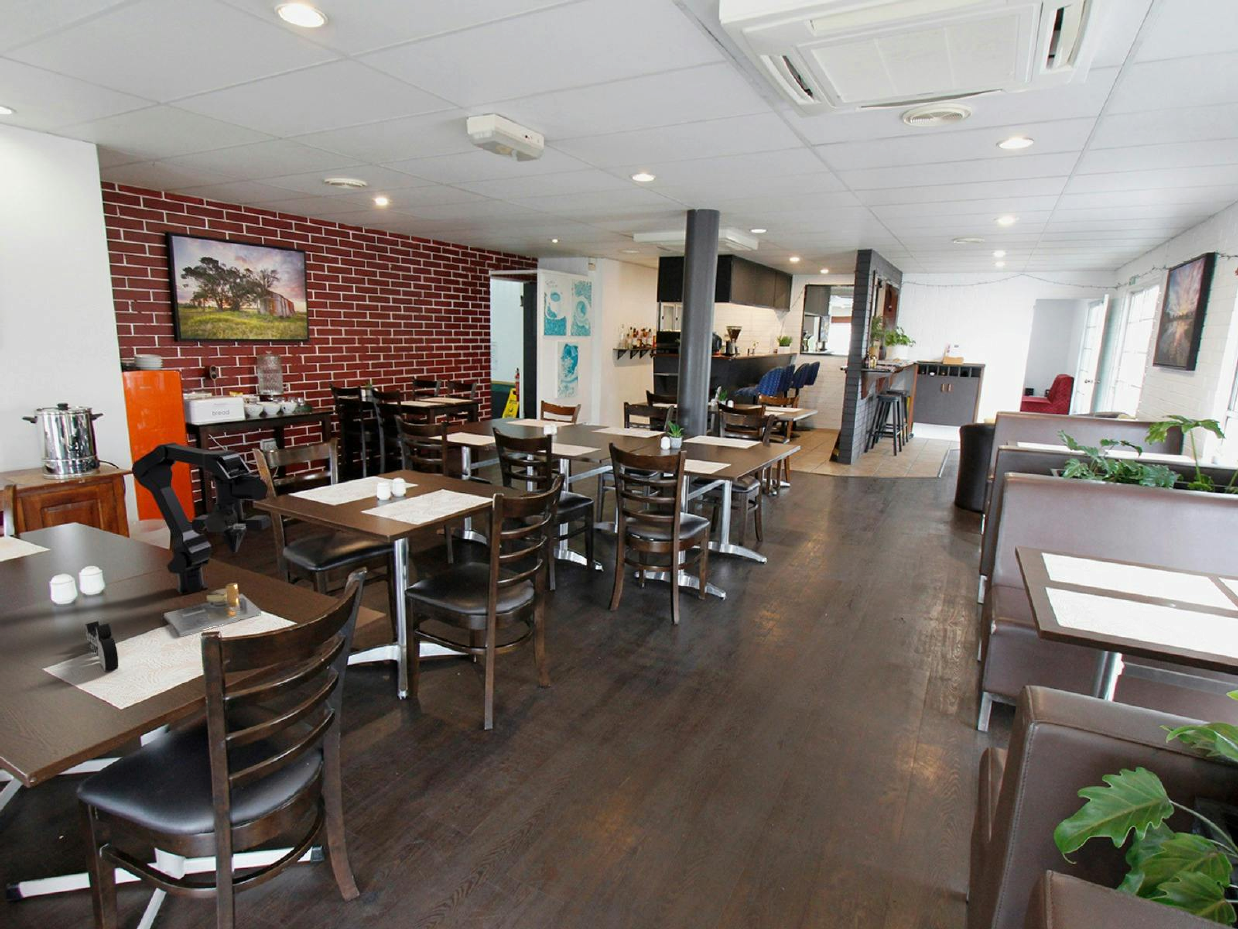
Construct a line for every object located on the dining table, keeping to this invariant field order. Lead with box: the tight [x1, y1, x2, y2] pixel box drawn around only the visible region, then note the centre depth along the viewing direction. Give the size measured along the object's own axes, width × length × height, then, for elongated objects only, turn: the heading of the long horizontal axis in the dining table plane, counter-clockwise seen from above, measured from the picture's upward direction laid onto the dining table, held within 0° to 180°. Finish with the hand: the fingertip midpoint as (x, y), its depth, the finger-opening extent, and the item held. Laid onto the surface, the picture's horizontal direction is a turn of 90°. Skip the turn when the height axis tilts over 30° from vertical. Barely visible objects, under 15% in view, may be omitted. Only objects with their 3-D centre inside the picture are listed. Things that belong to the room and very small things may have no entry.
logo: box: [85, 620, 119, 672], centre depth 144 cm, size 21×2×10 cm, turn 48°
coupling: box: [206, 582, 240, 607], centre depth 166 cm, size 12×6×6 cm, turn 51°
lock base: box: [163, 593, 262, 638], centre depth 165 cm, size 15×18×4 cm
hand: (234, 552), depth 176 cm, fingers closed
